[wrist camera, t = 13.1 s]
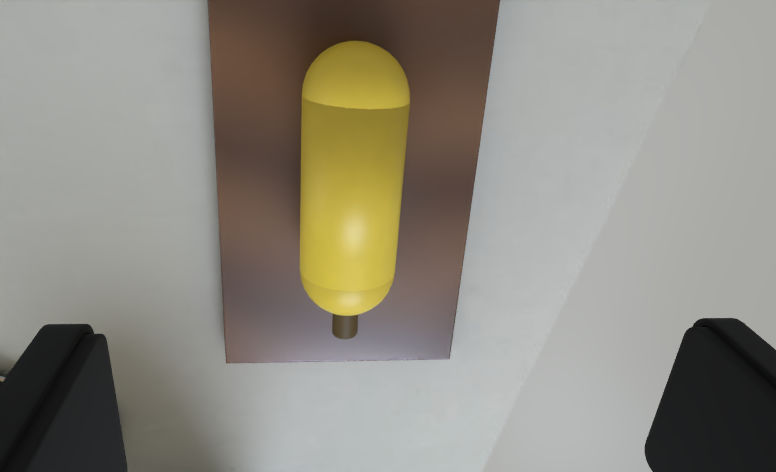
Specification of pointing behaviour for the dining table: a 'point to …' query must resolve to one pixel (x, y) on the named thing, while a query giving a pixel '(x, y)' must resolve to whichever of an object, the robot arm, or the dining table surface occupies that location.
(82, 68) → the dining table surface
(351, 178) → the yellow ice pop
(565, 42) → the dining table surface
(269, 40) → the board
